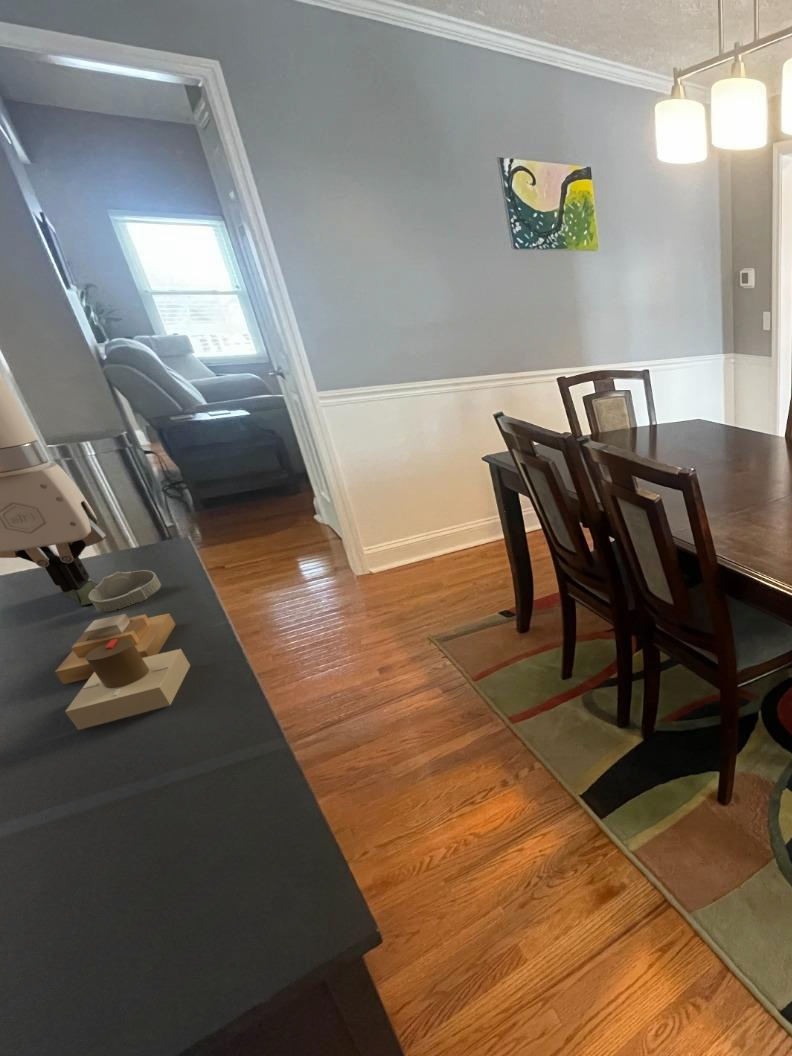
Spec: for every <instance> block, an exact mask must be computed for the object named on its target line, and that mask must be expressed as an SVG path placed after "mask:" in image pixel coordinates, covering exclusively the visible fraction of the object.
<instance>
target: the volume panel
mask: <svg viewBox="0 0 792 1056" xmlns="http://www.w3.org/2000/svg"><path fill="white" fill-rule="evenodd" d="M142 659H143V660H144V662H145V664H146V665H147V667H148V669H149V671H148V673H147V674H146V675H145V676H143V677H142V678H140V679H139V680H137V681H135V682H132V683H130V684H127V685H124V686H120V687H115V688H107V687H105V686H104V685H103V684H102V682H101V681H100V679H99V678H98V676H97V675H96V673H95V672H94V673H93V674H92V676H91V677H90V678H88V679H87V681H86V682H85V684H84V685H83V686H82V688H81V689H80V691H79V692H78V693H77V695H76V696H75V697H74V699H73V700H72V701H71V703H70V704H69V706H68V707H67V708H66V709H65V712H64V713H65V714H66V715H67V716H68V718H69V719H70V721H71V722H72V723H73V725H74V726H75V728H76V730H78V731H80V730H83V729H87V728H91V727H94V726H98V725H101V724H106V723H109V722H113V721H116V720H120V719H124V718H128V717H132V716H137V715H140V714H143V713H147V712H151V711H154V710H157V709H161V708H162V709H163V708H165V707H169V706H171V705H172V704H173V701H174V699H175V697H176V695H177V693H178V691H179V690H180V687H181V686H182V684H183V681H184V679H185V677H186V675H187V673H188V671H189V669H190V668H191V664H190V662H189V661H188V659H187V657H186V656H185V653H184V652H183V650H182V649H181V648H179V649H173V650H169V651H166V652H161V653H158V654H157V655H153V656H149V657H144V658H142Z"/></svg>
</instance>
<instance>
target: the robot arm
mask: <svg viewBox="0 0 792 1056" xmlns="http://www.w3.org/2000/svg"><path fill="white" fill-rule="evenodd" d="M99 524H100V523H99V520H98V518H97V515H96V513H95V512H94V510H93V508H92V507H91V505H90V504H89V502H88V500H87V499H86V498H85V496H84V495H83V493H82V492H81V490H80V489H79V487H78V486H77V484H76V483H75V482H74V481H73V480H72V478H71V477H70V476H69V475H68V474H67V472H66V471H64V469H63V468H62V467H61V466H60V465H59V464H58V463H57V462H50V460H49V458H48V457H47V454H46V453H45V451H44V449H43V447H42V445H41V444H40V442H39V440H38V439H37V436H36V435H35V432H34V431H33V428H32V427H31V425H30V424H29V423H28V421H27V418H26V417H25V415H24V414H23V412H22V410H21V408H20V405H19V404H18V402H17V400H16V399H15V396H14V395H13V393H12V391H11V390H10V388H9V386H8V384H7V382H6V381H5V379H4V377H3V375H2V373H1V372H0V559H12V558H13V559H17V558H20V559H23V560H25V561H29V562H32V563H34V564H36V565H37V566H38V567H40V568H44V569H45V570H46V572H47V573H48V575H49V577H50V579H51V580H52V582H53V583H54V585H55V586H58V587H59V586H60V587H61V589H62V591H61V592H63V593H64V592H69V591H71V590H80V589H81V588H82V587H83V586H84V585H85V584H86V583H87V582H88V579H89V578H90V575H89V572H88V571H87V569H86V567H85V566H84V564H83V563H82V561H81V559H80V556H81V555H82V553H83V551H84V550H85V548H87V547H90V546H93V545H97V544H98V543H101V542H103V541H104V540H105V539H106V538H107V535H106V533H105V532H104V531H103V530H102V529H101V528H100V527H99ZM52 546H55V548H56V551H55V550H54V548H53V547H52Z"/></svg>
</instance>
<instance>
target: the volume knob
mask: <svg viewBox="0 0 792 1056" xmlns="http://www.w3.org/2000/svg"><path fill="white" fill-rule="evenodd" d="M85 658H86V660H87V661H88V663H89V664H90V666H91V667H92V669H93V670H94V672H95V673H96V675H97V676H98V678H99V679H100V681H101V682H102V684H103V685H104V686H105V687H107V688H115V687H120V686H124V685H127V684H130V683H132V682H135V681H137V680H139V679H140V678H142V677H143V676H145V675H146V674H147V673H148V671H149V669H148V667H147V665H146V664H145V662H144V660H143V659H142V657H141V655H140V654H139V652H138V651H137V649H136V647H135V646H134V644H133V642H132V641H130V640H119V641H118V640H117V639H114V640H111V641H110V642H109V643H107V644H104V645H102V646H99V647H97V648H95V649H93V650H92V651H90V652H89V653H88V654H87V655H86V657H85Z"/></svg>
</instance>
